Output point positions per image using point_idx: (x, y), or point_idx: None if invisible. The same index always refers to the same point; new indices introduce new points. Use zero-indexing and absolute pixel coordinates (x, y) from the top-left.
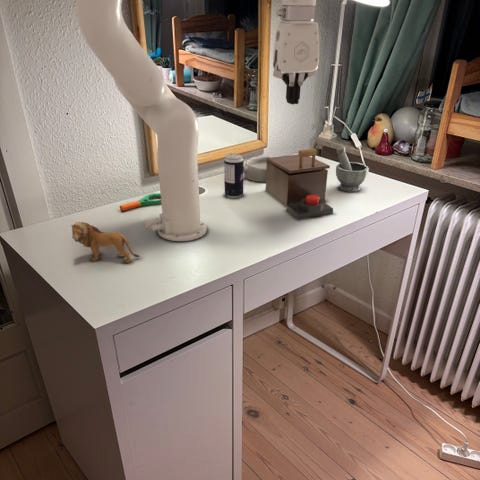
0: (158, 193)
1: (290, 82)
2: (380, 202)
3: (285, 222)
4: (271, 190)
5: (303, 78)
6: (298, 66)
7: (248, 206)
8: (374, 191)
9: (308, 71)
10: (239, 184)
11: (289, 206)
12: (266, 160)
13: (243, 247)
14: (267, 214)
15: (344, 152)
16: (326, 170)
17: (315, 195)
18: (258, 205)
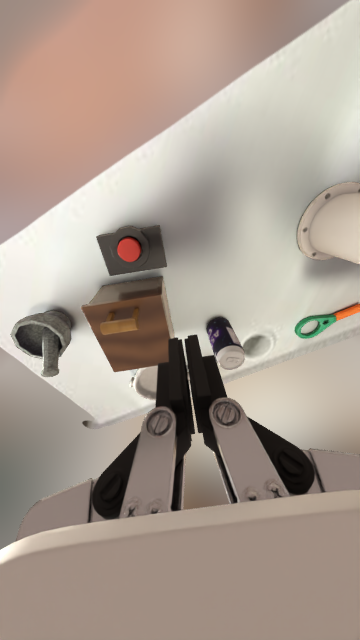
0: (303, 338)
1: (240, 420)
2: (11, 265)
3: (181, 220)
4: (171, 322)
5: (137, 458)
6: (253, 628)
7: (212, 290)
8: (18, 307)
9: (85, 528)
10: (218, 326)
11: (164, 260)
12: (155, 395)
13: (281, 128)
14: (197, 257)
15: (44, 365)
16: None
17: (122, 257)
18: (198, 291)
